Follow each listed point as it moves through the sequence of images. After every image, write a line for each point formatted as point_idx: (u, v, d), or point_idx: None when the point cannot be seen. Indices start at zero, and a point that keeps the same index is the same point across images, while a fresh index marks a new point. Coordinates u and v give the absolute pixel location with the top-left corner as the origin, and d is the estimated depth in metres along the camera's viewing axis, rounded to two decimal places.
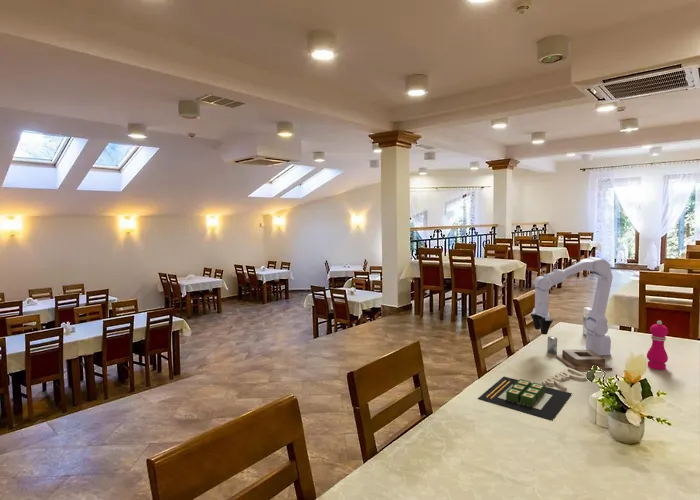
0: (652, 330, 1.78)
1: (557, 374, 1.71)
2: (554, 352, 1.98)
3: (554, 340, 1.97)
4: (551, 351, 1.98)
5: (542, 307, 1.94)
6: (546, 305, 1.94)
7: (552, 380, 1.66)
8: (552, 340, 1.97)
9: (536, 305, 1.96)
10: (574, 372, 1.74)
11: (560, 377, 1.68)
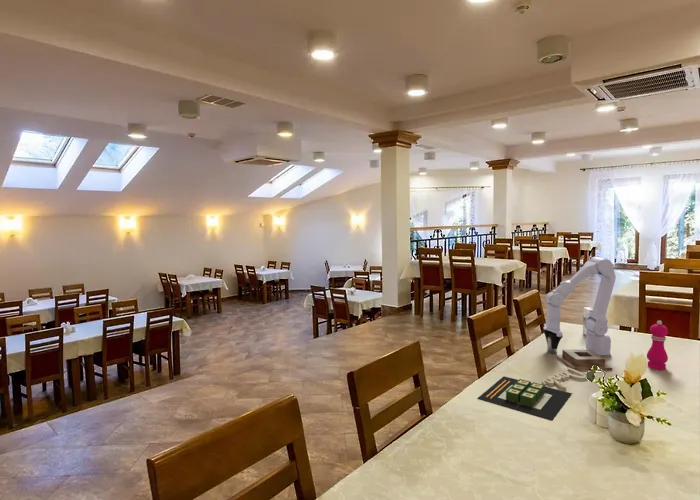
0: (652, 330, 1.78)
1: (557, 374, 1.71)
2: (554, 352, 1.98)
3: None
4: (551, 351, 1.98)
5: (554, 323, 1.96)
6: (558, 321, 1.96)
7: (552, 380, 1.66)
8: None
9: (548, 321, 1.97)
10: (574, 372, 1.75)
11: (560, 377, 1.69)
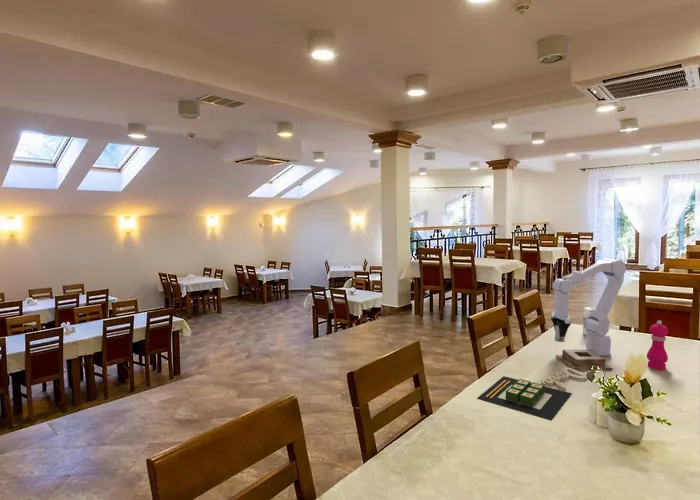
0: (652, 330, 1.78)
1: (557, 374, 1.72)
2: (562, 340, 1.94)
3: None
4: (559, 339, 1.94)
5: (562, 310, 1.91)
6: (566, 308, 1.91)
7: (551, 380, 1.66)
8: None
9: (556, 308, 1.93)
10: (574, 372, 1.75)
11: (559, 377, 1.69)
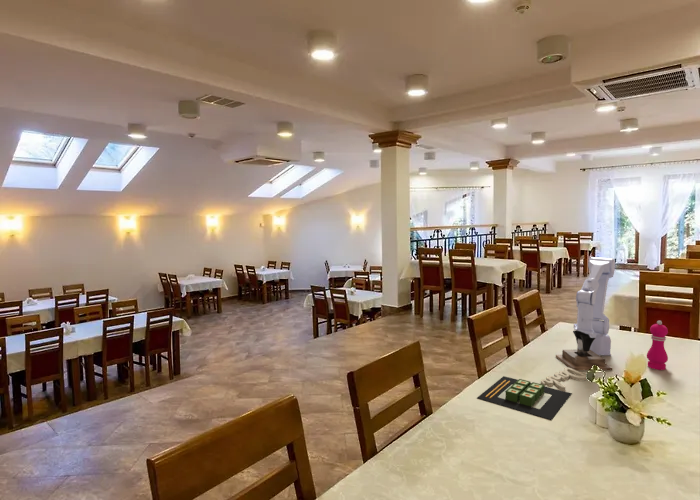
0: (652, 330, 1.78)
1: (556, 374, 1.72)
2: (584, 355, 1.83)
3: None
4: (581, 354, 1.84)
5: (586, 323, 1.81)
6: (590, 321, 1.81)
7: (551, 380, 1.66)
8: None
9: (579, 321, 1.83)
10: (574, 372, 1.75)
11: (559, 377, 1.69)
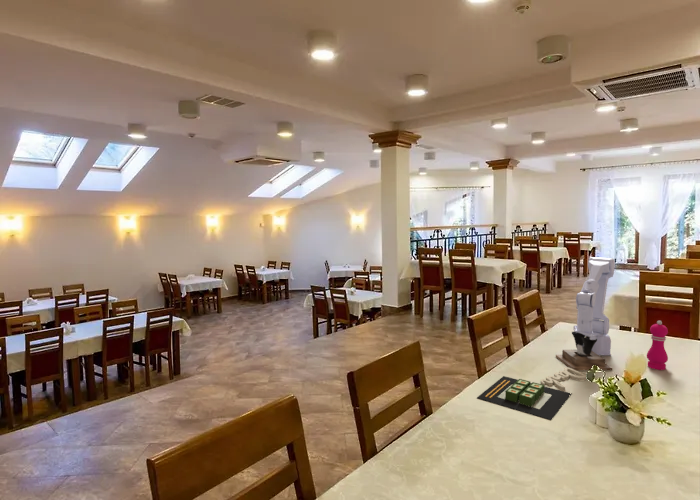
0: (652, 330, 1.78)
1: (556, 374, 1.72)
2: None
3: None
4: None
5: (586, 325, 1.81)
6: (590, 323, 1.81)
7: (551, 380, 1.66)
8: (582, 348, 1.83)
9: (579, 323, 1.83)
10: (574, 372, 1.75)
11: (559, 377, 1.69)
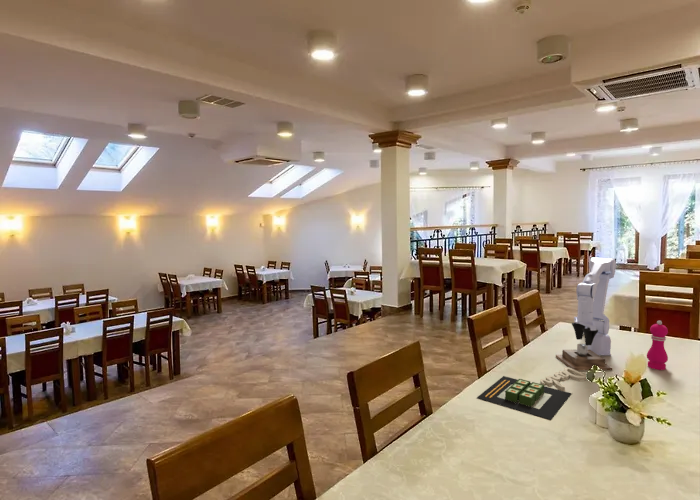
0: (652, 330, 1.78)
1: (556, 374, 1.72)
2: None
3: (584, 348, 1.83)
4: None
5: (586, 316, 1.81)
6: (590, 314, 1.81)
7: (550, 379, 1.66)
8: (582, 348, 1.83)
9: (579, 314, 1.83)
10: (574, 372, 1.75)
11: (559, 377, 1.69)
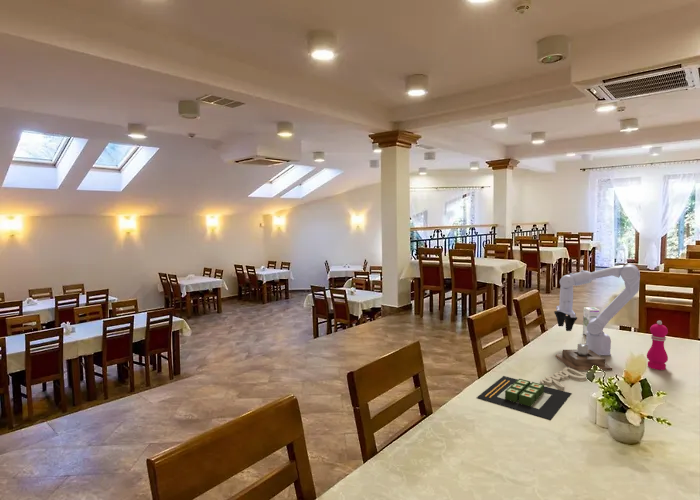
0: (652, 330, 1.78)
1: (556, 374, 1.72)
2: None
3: (584, 348, 1.83)
4: None
5: (567, 304, 2.01)
6: (571, 303, 2.01)
7: (550, 379, 1.66)
8: (582, 348, 1.83)
9: (561, 302, 2.03)
10: (573, 372, 1.75)
11: (559, 377, 1.69)
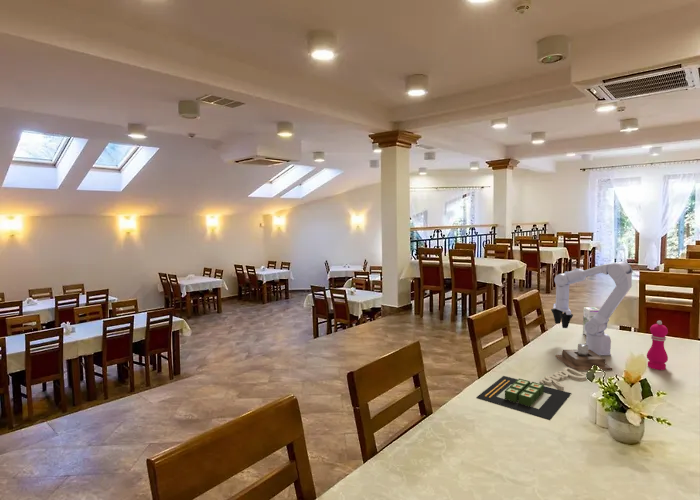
0: (652, 330, 1.78)
1: (556, 373, 1.72)
2: None
3: (585, 348, 1.83)
4: None
5: (563, 302, 2.06)
6: (567, 300, 2.06)
7: (550, 379, 1.66)
8: (582, 348, 1.83)
9: (557, 300, 2.07)
10: (573, 372, 1.75)
11: (558, 376, 1.69)
